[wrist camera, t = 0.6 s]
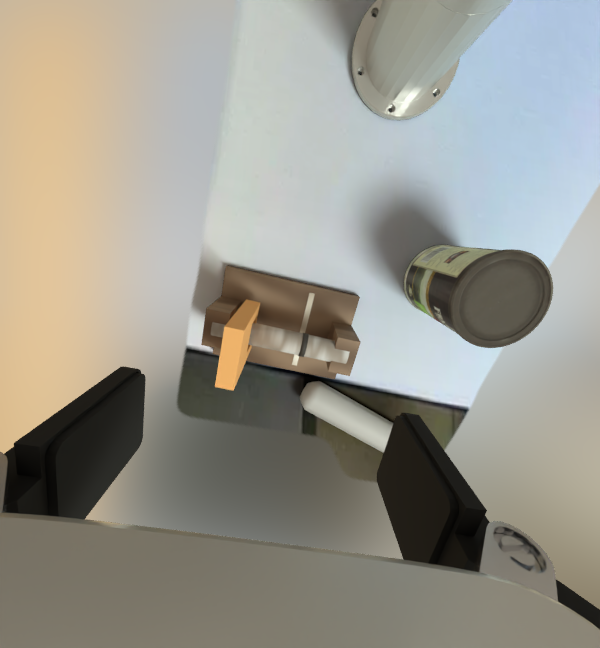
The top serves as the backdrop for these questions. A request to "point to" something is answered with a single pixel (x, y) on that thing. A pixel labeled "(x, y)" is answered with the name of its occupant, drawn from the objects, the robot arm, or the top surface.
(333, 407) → the tube
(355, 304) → the pipe stand
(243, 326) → the orange flat block
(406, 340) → the top surface
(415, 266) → the coffee can
